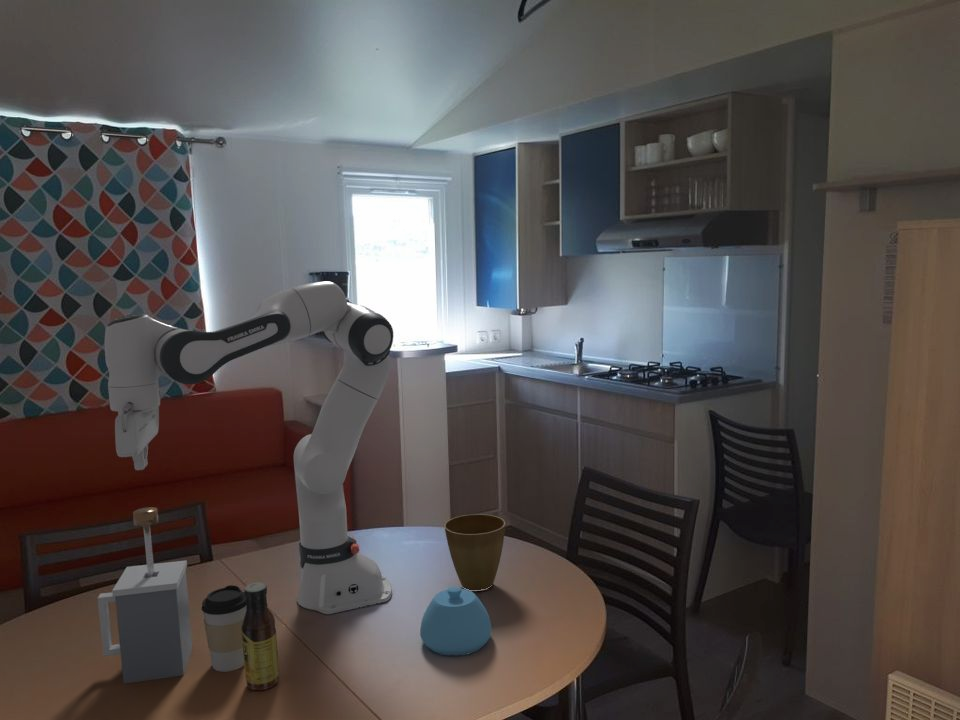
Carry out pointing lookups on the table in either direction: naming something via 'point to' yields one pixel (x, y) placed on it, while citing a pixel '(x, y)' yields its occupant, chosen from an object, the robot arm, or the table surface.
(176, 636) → the press jug
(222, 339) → the robot arm
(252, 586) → the sauce bottle
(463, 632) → the sugar bowl
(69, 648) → the table surface
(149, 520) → the press plunger
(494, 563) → the plant pot
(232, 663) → the coffee cup
